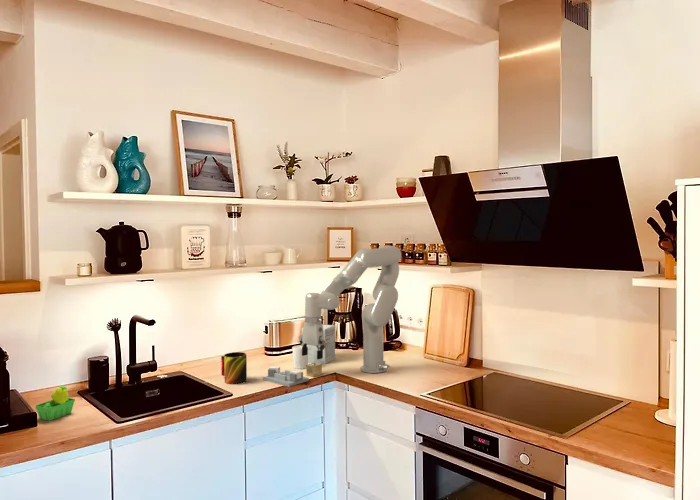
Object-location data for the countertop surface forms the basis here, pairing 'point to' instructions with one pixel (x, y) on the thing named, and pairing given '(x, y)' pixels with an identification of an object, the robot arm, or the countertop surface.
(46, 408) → the fruit basket
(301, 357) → the white cup
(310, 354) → the supplement box
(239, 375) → the mug
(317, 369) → the coupler
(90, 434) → the countertop surface
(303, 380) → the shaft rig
